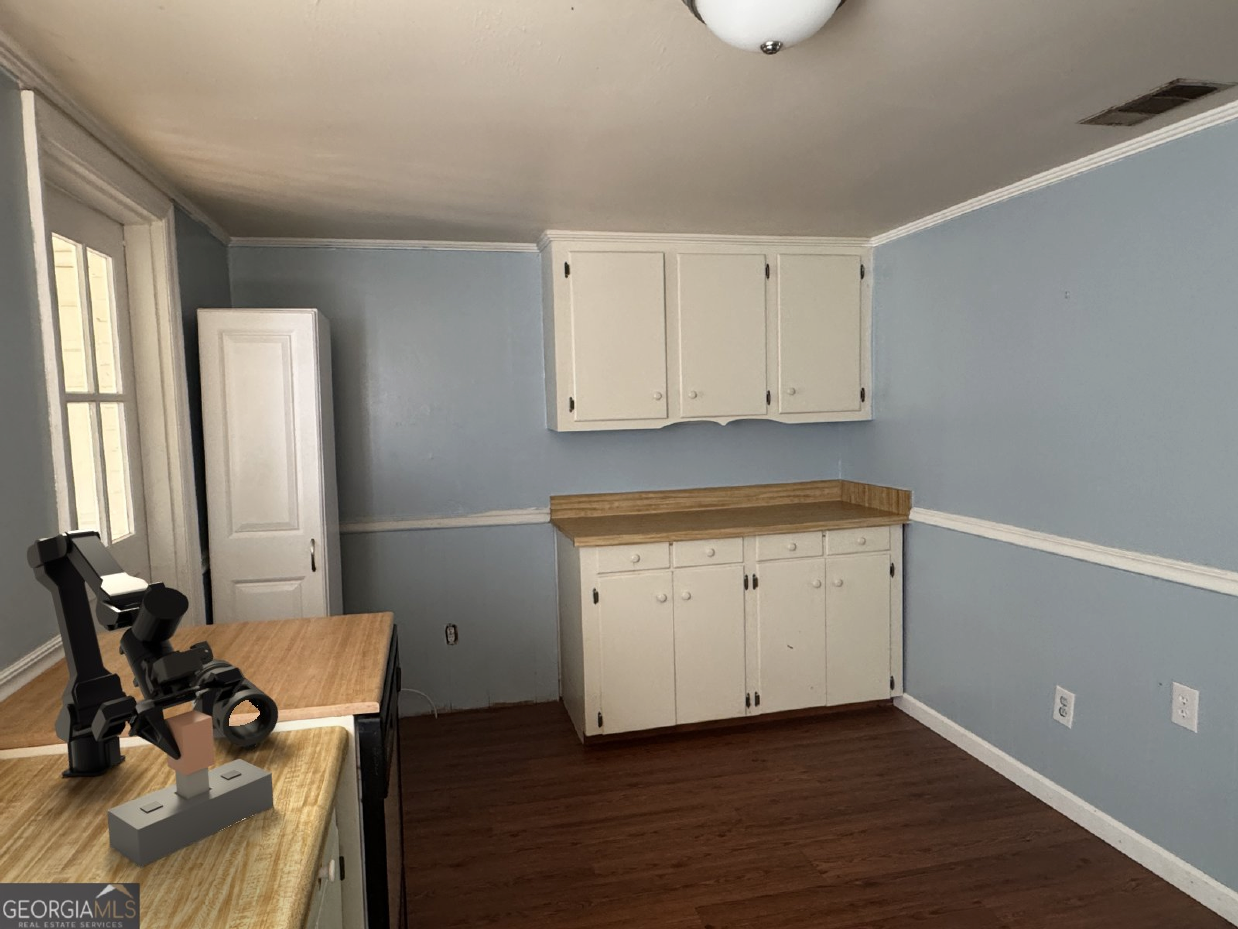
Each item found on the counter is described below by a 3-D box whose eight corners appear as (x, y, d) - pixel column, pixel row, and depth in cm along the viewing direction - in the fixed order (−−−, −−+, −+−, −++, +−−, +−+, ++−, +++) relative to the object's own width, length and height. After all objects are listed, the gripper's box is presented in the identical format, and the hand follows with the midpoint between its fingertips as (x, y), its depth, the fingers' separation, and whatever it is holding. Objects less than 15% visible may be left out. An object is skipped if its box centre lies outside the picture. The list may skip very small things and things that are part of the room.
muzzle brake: (223, 760, 128) (219, 700, 128) (183, 714, 149) (179, 662, 149) (282, 743, 135) (278, 685, 134) (235, 701, 156) (232, 651, 155)
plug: (169, 795, 107) (164, 719, 106) (199, 784, 110) (194, 709, 110) (187, 805, 104) (182, 727, 104) (216, 793, 108) (211, 717, 107)
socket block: (109, 846, 103) (107, 808, 103) (241, 790, 118) (238, 757, 117) (140, 867, 98) (137, 828, 97) (273, 806, 112) (271, 772, 112)
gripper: (94, 645, 100) (138, 747, 95) (234, 612, 116) (279, 699, 110) (74, 691, 105) (114, 791, 100) (211, 655, 121) (252, 739, 115)
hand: (195, 752), depth 106 cm, fingers closed on plug, 4 cm apart
